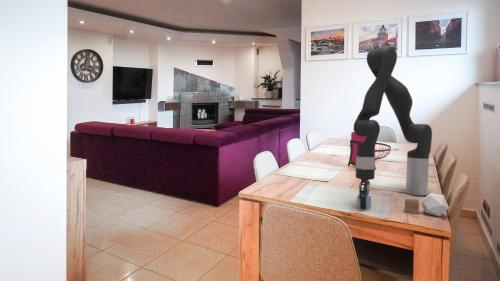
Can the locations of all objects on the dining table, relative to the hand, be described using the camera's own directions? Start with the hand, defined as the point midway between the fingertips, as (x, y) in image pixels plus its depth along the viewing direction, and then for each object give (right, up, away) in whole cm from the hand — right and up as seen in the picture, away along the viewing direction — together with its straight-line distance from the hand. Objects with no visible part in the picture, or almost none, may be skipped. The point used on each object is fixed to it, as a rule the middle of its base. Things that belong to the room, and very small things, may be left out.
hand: (363, 206), depth 136 cm
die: (+20, +4, -6) cm, 22 cm away
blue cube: (0, 0, 0) cm, 0 cm away
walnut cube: (+17, -1, -6) cm, 18 cm away
